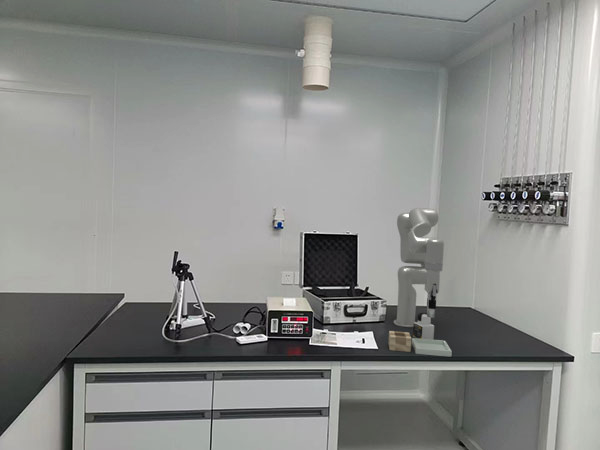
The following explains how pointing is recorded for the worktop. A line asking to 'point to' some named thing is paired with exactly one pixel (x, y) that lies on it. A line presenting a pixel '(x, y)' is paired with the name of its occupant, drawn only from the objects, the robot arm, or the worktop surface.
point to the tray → (431, 347)
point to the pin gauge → (430, 311)
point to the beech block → (399, 341)
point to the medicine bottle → (423, 327)
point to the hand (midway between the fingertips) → (431, 307)
